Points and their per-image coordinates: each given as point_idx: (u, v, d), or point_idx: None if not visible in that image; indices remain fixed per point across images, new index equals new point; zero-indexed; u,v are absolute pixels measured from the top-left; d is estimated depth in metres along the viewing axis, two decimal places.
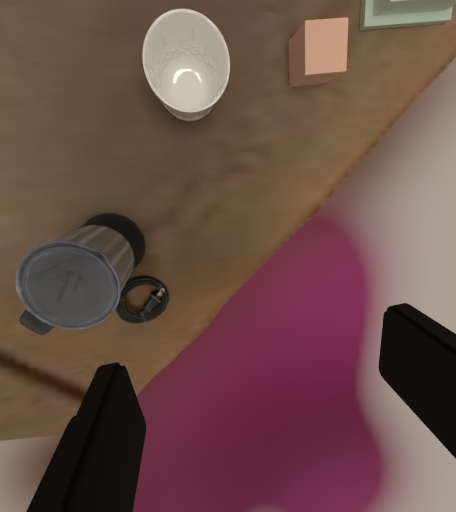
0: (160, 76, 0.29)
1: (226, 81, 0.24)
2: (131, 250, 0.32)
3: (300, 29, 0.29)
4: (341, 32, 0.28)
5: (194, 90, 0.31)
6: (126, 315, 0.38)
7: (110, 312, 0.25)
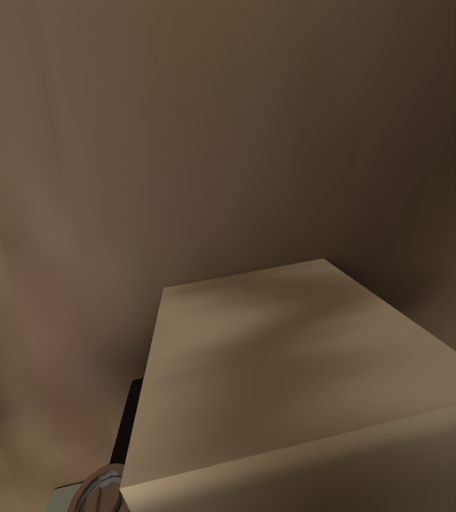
0: None
1: None
2: None
3: None
4: None
5: None
6: None
7: None
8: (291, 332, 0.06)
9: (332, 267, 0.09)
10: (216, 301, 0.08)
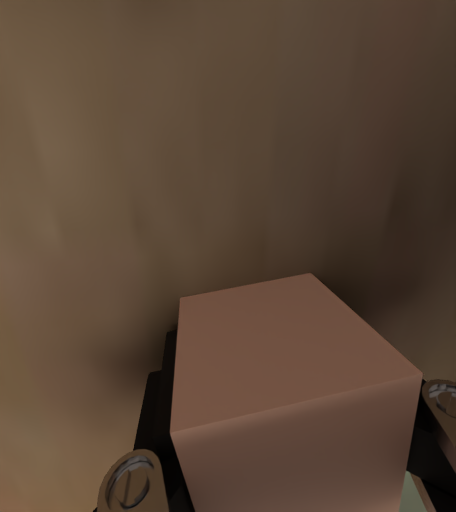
0: None
1: None
2: None
3: (369, 337, 0.06)
4: None
5: None
6: None
7: None
8: None
9: None
10: None
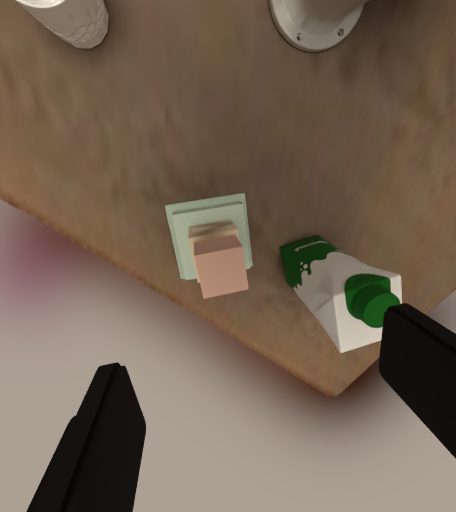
0: None
1: (22, 1, 0.21)
2: None
3: (237, 243, 0.27)
4: (236, 285, 0.27)
5: None
6: None
7: None
8: (214, 228, 0.32)
9: (230, 220, 0.35)
10: (201, 227, 0.34)
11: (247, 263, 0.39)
